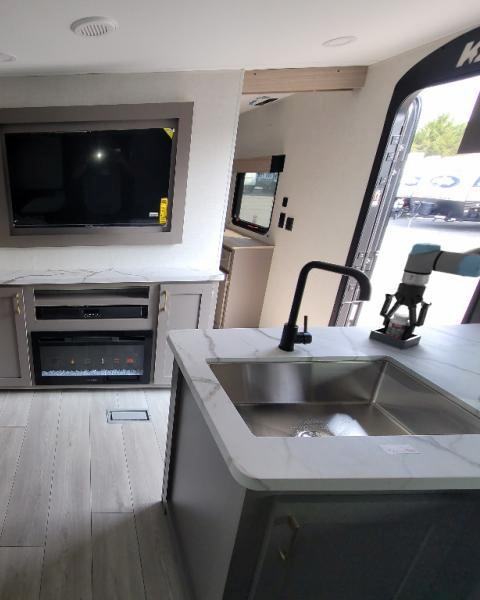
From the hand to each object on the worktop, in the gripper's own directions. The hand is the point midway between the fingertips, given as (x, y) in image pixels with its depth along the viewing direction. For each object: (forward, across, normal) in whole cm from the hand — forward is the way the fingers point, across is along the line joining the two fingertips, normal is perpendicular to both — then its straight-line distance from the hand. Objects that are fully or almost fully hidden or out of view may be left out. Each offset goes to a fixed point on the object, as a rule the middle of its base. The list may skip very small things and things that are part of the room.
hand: (394, 336), depth 134 cm
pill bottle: (+1, 0, 0) cm, 1 cm away
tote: (+2, 0, 0) cm, 2 cm away
